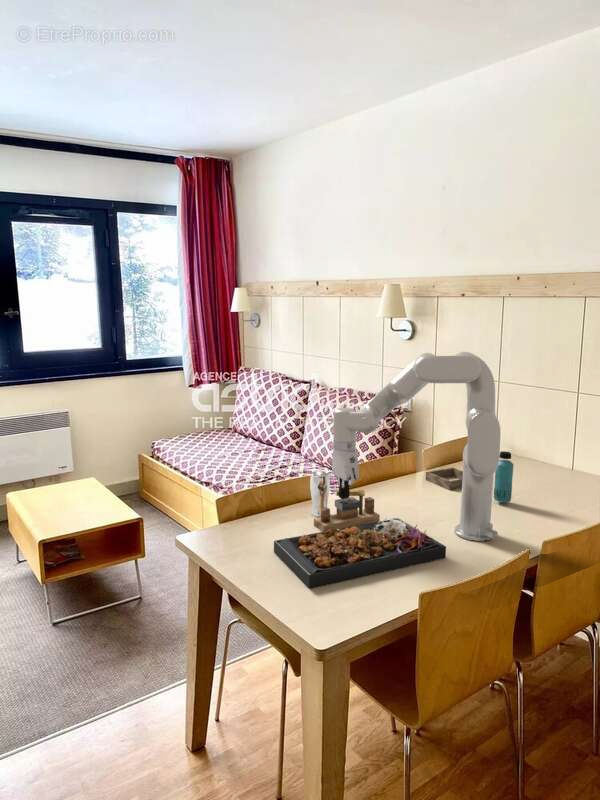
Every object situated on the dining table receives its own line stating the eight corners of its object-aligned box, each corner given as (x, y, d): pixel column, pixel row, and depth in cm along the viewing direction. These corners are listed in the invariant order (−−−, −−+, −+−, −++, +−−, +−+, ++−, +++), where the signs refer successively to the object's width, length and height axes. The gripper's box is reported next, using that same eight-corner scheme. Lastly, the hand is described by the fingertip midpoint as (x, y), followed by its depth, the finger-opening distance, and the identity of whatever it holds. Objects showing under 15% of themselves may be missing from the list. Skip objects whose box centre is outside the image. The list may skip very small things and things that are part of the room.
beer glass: (327, 518, 204) (328, 477, 201) (308, 516, 205) (308, 475, 202) (330, 511, 210) (331, 471, 208) (311, 509, 212) (312, 470, 209)
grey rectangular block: (359, 507, 197) (360, 500, 197) (342, 510, 194) (342, 503, 194) (352, 502, 202) (352, 495, 201) (334, 506, 199) (334, 498, 198)
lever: (365, 496, 199) (365, 492, 198) (336, 496, 198) (336, 492, 198) (364, 494, 201) (364, 489, 201) (336, 494, 201) (336, 489, 201)
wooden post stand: (379, 521, 201) (380, 496, 199) (323, 532, 191) (324, 506, 189) (368, 514, 207) (368, 490, 205) (313, 525, 197) (314, 500, 196)
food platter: (398, 530, 195) (399, 501, 193) (445, 560, 173) (447, 527, 171) (273, 554, 176) (273, 522, 175) (309, 591, 154) (309, 554, 153)
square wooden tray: (477, 485, 241) (478, 476, 240) (449, 490, 234) (450, 481, 233) (452, 475, 254) (453, 467, 253) (425, 479, 247) (425, 471, 247)
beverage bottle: (508, 500, 222) (512, 450, 219) (513, 506, 216) (517, 454, 212) (491, 500, 223) (494, 449, 220) (495, 506, 216) (498, 454, 213)
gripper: (366, 448, 189) (365, 502, 193) (342, 439, 202) (341, 489, 206) (347, 451, 186) (346, 506, 189) (323, 441, 199) (323, 493, 202)
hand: (344, 497), depth 197 cm, fingers closed
